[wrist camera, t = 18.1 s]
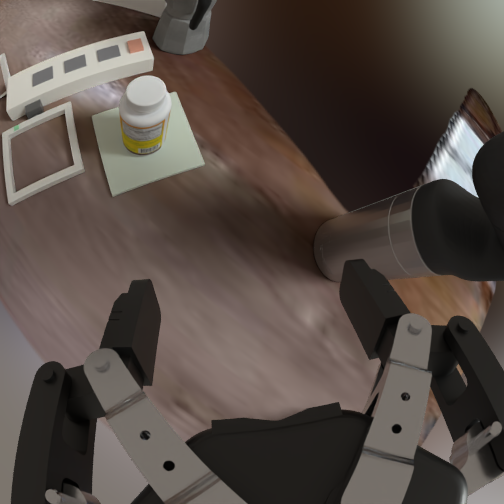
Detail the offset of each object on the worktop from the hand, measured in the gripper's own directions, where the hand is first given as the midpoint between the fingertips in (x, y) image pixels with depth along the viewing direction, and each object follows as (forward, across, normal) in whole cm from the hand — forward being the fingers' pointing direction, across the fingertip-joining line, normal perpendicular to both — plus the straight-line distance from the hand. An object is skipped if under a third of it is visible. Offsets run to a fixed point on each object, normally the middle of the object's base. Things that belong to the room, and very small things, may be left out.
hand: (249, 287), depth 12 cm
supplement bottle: (+27, +10, -2) cm, 29 cm away
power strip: (+32, +21, -13) cm, 40 cm away
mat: (+28, +10, -2) cm, 29 cm away
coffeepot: (+40, +6, -17) cm, 44 cm away
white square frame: (+24, +24, -4) cm, 34 cm away
